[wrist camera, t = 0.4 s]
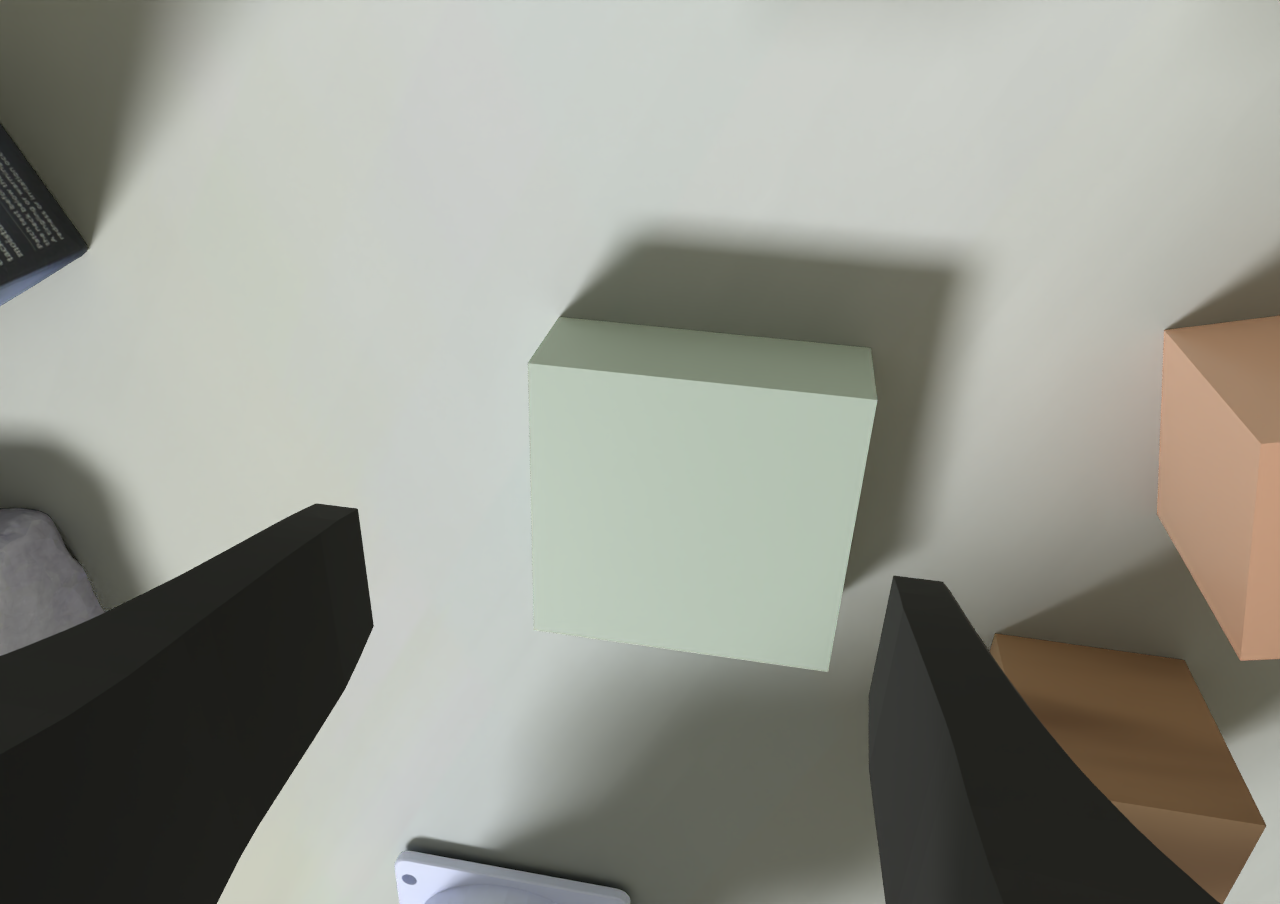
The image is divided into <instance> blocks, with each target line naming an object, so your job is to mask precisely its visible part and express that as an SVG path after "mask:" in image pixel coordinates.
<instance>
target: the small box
mask: <svg viewBox="0 0 1280 904" xmlns="http://www.w3.org/2000/svg"><path fill="white" fill-rule="evenodd" d="M87 249H88V247H87V245H86V243H85V242H84V241H83V239H82V238H81V236H80V234H79V232H78V231H77V230H76V228H75V227H74V226H73V224H72V223H71V221H70V220H69V219H68V217H67V216H66V215H65V214H64V212H63V210H62V209H61V207H60V206H59V204H58V203H57V202H56V200H55V199H54V198H53V196H52V195H51V194H50V192H49V191H48V190H47V188H46V187H45V185H44V184H43V183H42V181H41V180H40V178H39V177H38V175H37V174H36V173H35V172H34V170H33V169H32V167H31V166H30V165H29V163H28V162H27V160H26V159H25V158H24V156H23V155H22V153H21V152H20V150H19V149H18V147H17V146H16V145H15V143H14V142H13V141H12V139H11V138H10V137H9V135H8V134H7V133H6V131H5V130H4V128H3V127H2V126H1V124H0V306H1V305H3V304H4V303H6V302H8V301H9V300H11V299H13V298H14V297H16V296H18V295H19V294H21V293H23V292H24V291H26V290H28V289H29V288H31V287H33V286H34V285H36V284H37V283H39V282H41V281H42V280H44V279H45V278H47V277H49V276H50V275H52V274H53V273H55V272H56V271H58V270H60V269H61V268H63V267H64V266H66V265H67V264H69V263H71V262H72V261H74V260H76V259H77V258H79V257H81V256H82V255H83V254H84V253H85V252H86V251H87Z"/></svg>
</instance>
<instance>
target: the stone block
mask: <svg viewBox="0 0 1280 904" xmlns="http://www.w3.org/2000/svg"><path fill="white" fill-rule="evenodd" d="M103 613H105V611H104V610H103V609H102V608H101V606H100V604H99V602H98V600H97V598H96V596H95V594H94V593H93V590H92V587H91V583H90V581H89V580H88V578H87V575H86V573H85V571H84V569H83V567H82V566H81V565H80V564H79V563H78V561H77V560H75V559H74V558H72V556H71V555H70V553H69V552H68V550H67V549H66V546H65V544H64V542H63V539H62V537H61V535H60V533H59V531H58V529H57V527H56V525H55V523H54V522H53V520H52V519H51V518H50V517H49V516H48V515H47V514H45V513H43V512H41V511H36V510H30V509H22V508H10V509H0V656H1V655H4V654H7V653H10V652H12V651H15V650H17V649H20V648H23V647H25V646H28V645H30V644H33V643H35V642H37V641H40V640H42V639H45V638H47V637H50V636H52V635H55V634H57V633H60V632H62V631H65V630H67V629H69V628H72V627H74V626H76V625H78V624H81V623H83V622H85V621H88V620H90V619H92V618H94V617H96V616H99V615H101V614H103Z"/></svg>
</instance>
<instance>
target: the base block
mask: <svg viewBox="0 0 1280 904" xmlns="http://www.w3.org/2000/svg"><path fill="white" fill-rule="evenodd" d="M528 392H529V437H530V483H531V529H532V575H533V620H534V630H535V631H542V632H549V633H556V634H563V635H570V636H577V637H584V638H591V639H598V640H606V641H613V642H620V643H627V644H634V645H641V646H648V647H655V648H662V649H669V650H676V651H683V652H690V653H697V654H704V655H712V656H719V657H726V658H733V659H740V660H747V661H754V662H761V663H768V664H775V665H782V666H789V667H796V668H803V669H810V670H817V671H825V672H828V669H829V664H830V658H831V653H832V647H833V642H834V636H835V631H836V625H837V620H838V614H839V609H840V603H841V598H842V592H843V587H844V581H845V576H846V570H847V565H848V559H849V554H850V548H851V543H852V537H853V532H854V526H855V521H856V515H857V510H858V504H859V499H860V493H861V488H862V482H863V477H864V471H865V466H866V460H867V455H868V449H869V444H870V438H871V433H872V427H873V422H874V416H875V411H876V405H877V393H876V385H875V377H874V369H873V361H872V353H871V348H866V347H856V346H846V345H836V344H826V343H816V342H806V341H796V340H786V339H776V338H766V337H756V336H746V335H736V334H726V333H716V332H706V331H696V330H686V329H676V328H666V327H656V326H646V325H636V324H626V323H616V322H606V321H596V320H586V319H576V318H566V317H559V318H558V319H557V321H556V322H555V324H554V325H553V327H552V328H551V330H550V331H549V333H548V334H547V336H546V337H545V339H544V340H543V342H542V343H541V345H540V346H539V348H538V349H537V350H536V352H535V353H534V355H533V356H532V358H531V359H530V361H529V362H528Z"/></svg>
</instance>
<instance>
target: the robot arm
mask: <svg viewBox="0 0 1280 904" xmlns="http://www.w3.org/2000/svg"><path fill="white" fill-rule="evenodd" d="M372 628H373V618H372V611H371V603H370V596H369V589H368V581H367V574H366V566H365V559H364V552H363V544H362V537H361V529H360V522H359V515H358V509H356V508H348V507H340V506H332V505H324V504H314V505H312V506H310V507H308V508H305V509H303V510H301V511H299V512H297V513H295V514H293V515H291V516H289V517H287V518H285V519H283V520H281V521H280V522H278V523H276V524H274V525H272V526H270V527H268V528H267V529H265V530H263V531H261V532H259V533H257V534H256V535H254V536H252V537H250V538H248V539H246V540H245V541H243V542H241V543H239V544H237V545H236V546H234V547H232V548H230V549H228V550H226V551H224V552H223V553H221V554H219V555H217V556H215V557H213V558H212V559H210V560H208V561H206V562H204V563H202V564H200V565H199V566H197V567H195V568H193V569H191V570H189V571H188V572H186V573H184V574H182V575H180V576H178V577H176V578H174V579H172V580H170V581H168V582H166V583H164V584H162V585H160V586H158V587H156V588H154V589H152V590H150V591H148V592H146V593H144V594H142V595H140V596H138V597H136V598H134V599H132V600H130V601H128V602H126V603H124V604H122V605H120V606H118V607H116V608H114V609H111V610H109V611H107V612H105V613H103V614H101V615H99V616H96V617H94V618H92V619H90V620H88V621H85V622H83V623H81V624H78V625H76V626H74V627H72V628H69V629H67V630H65V631H62V632H60V633H57V634H55V635H52V636H50V637H47V638H45V639H42V640H40V641H37V642H35V643H33V644H30V645H28V646H25V647H23V648H20V649H17V650H15V651H12V652H10V653H7V654H4V655H1V656H0V904H217V902H218V900H219V898H220V896H221V894H222V892H223V890H224V888H225V886H226V884H227V882H228V880H229V878H230V876H231V874H232V872H233V870H234V868H235V866H236V864H237V862H238V860H239V858H240V857H241V855H242V853H243V851H244V850H245V848H246V846H247V844H248V843H249V841H250V839H251V838H252V836H253V834H254V832H255V831H256V829H257V827H258V826H259V824H260V822H261V821H262V819H263V818H264V816H265V814H266V813H267V811H268V810H269V808H270V807H271V805H272V804H273V802H274V800H275V799H276V797H277V796H278V794H279V793H280V791H281V790H282V788H283V786H284V785H285V783H286V782H287V780H288V779H289V777H290V775H291V774H292V772H293V771H294V769H295V768H296V766H297V765H298V763H299V761H300V760H301V758H302V757H303V755H304V754H305V752H306V750H307V749H308V747H309V746H310V744H311V743H312V741H313V740H314V738H315V736H316V735H317V733H318V732H319V730H320V728H321V727H322V725H323V724H324V722H325V721H326V719H327V717H328V716H329V714H330V713H331V711H332V709H333V708H334V706H335V705H336V703H337V701H338V700H339V698H340V696H341V695H342V693H343V691H344V690H345V688H346V686H347V684H348V682H349V680H350V677H351V675H352V673H353V671H354V669H355V667H356V665H357V663H358V661H359V658H360V656H361V654H362V651H363V649H364V647H365V645H366V642H367V640H368V638H369V635H370V633H371V631H372ZM869 773H870V781H871V790H872V798H873V806H874V814H875V822H876V830H877V838H878V846H879V854H880V862H881V870H882V878H883V885H884V893H885V901H886V904H1220V903H1219V902H1218V901H1217V900H1216V899H1214V898H1213V897H1212V896H1211V895H1210V894H1209V893H1207V892H1206V891H1205V890H1204V889H1203V888H1202V887H1201V886H1200V885H1198V884H1197V883H1196V882H1195V881H1194V880H1193V879H1192V878H1191V877H1190V876H1188V875H1187V874H1186V873H1185V872H1184V871H1183V870H1182V869H1181V868H1179V867H1178V866H1177V865H1176V864H1175V863H1174V862H1173V861H1172V860H1170V859H1169V858H1168V857H1167V856H1166V855H1165V854H1164V853H1163V852H1161V851H1160V850H1159V849H1158V848H1157V847H1156V846H1155V845H1154V844H1153V843H1152V842H1151V841H1150V840H1149V839H1148V838H1147V837H1146V836H1145V835H1144V834H1142V833H1141V832H1140V831H1139V830H1138V829H1137V828H1136V827H1135V826H1134V825H1133V824H1132V823H1131V822H1130V821H1129V820H1128V819H1127V818H1126V817H1125V816H1124V815H1123V814H1122V813H1121V812H1120V811H1119V809H1118V808H1117V807H1116V806H1115V805H1114V804H1113V803H1112V802H1111V801H1110V800H1109V799H1108V798H1107V797H1106V796H1105V795H1104V794H1103V793H1102V792H1101V791H1100V790H1099V789H1098V788H1097V787H1096V786H1095V785H1094V784H1093V783H1092V782H1091V781H1090V779H1089V778H1088V777H1087V776H1086V775H1085V774H1084V773H1083V772H1082V771H1081V770H1080V768H1079V767H1078V766H1077V765H1076V764H1075V763H1074V762H1073V760H1072V759H1071V758H1070V757H1069V756H1068V754H1067V753H1066V752H1065V751H1064V750H1063V748H1062V747H1061V746H1060V745H1059V744H1058V742H1057V741H1056V740H1055V739H1054V738H1053V736H1052V735H1051V734H1050V733H1049V732H1048V730H1047V729H1046V728H1045V727H1044V725H1043V724H1042V723H1041V721H1040V720H1039V719H1038V718H1037V716H1036V715H1035V714H1034V712H1033V711H1032V710H1031V709H1030V707H1029V706H1028V705H1027V703H1026V702H1025V701H1024V699H1023V698H1022V696H1021V695H1020V694H1019V692H1018V691H1017V690H1016V688H1015V687H1014V686H1013V684H1012V683H1011V681H1010V680H1009V679H1008V677H1007V676H1006V675H1005V673H1004V672H1003V671H1002V669H1001V668H1000V666H999V665H998V663H997V662H996V661H995V659H994V658H993V656H992V655H991V653H990V652H989V650H988V649H987V647H986V646H985V644H984V643H983V641H982V640H981V638H980V637H979V635H978V634H977V632H976V631H975V629H974V628H973V626H972V625H971V623H970V622H969V620H968V619H967V617H966V615H965V614H964V612H963V611H962V609H961V608H960V606H959V604H958V603H957V601H956V600H955V598H954V597H953V595H952V593H951V592H950V590H949V589H948V588H947V586H946V585H945V584H944V583H943V582H940V581H932V580H924V579H916V578H908V577H900V576H893V580H892V585H891V590H890V595H889V600H888V605H887V610H886V615H885V619H884V624H883V629H882V634H881V639H880V644H879V649H878V654H877V659H876V663H875V668H874V673H873V678H872V683H871V688H870V693H869ZM395 873H396V881H397V889H398V896H399V904H631V901H630V897H629V896H628V895H627V893H625V892H624V891H622V890H620V889H617V888H611V887H606V886H600V885H595V884H589V883H584V882H579V881H573V880H568V879H562V878H557V877H551V876H546V875H540V874H535V873H529V872H524V871H518V870H513V869H507V868H502V867H497V866H491V865H486V864H480V863H475V862H469V861H464V860H458V859H453V858H447V857H442V856H436V855H431V854H426V853H420V852H415V851H404V852H401V853H400V854H399V855H398V857H397V860H396V862H395Z"/></svg>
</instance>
